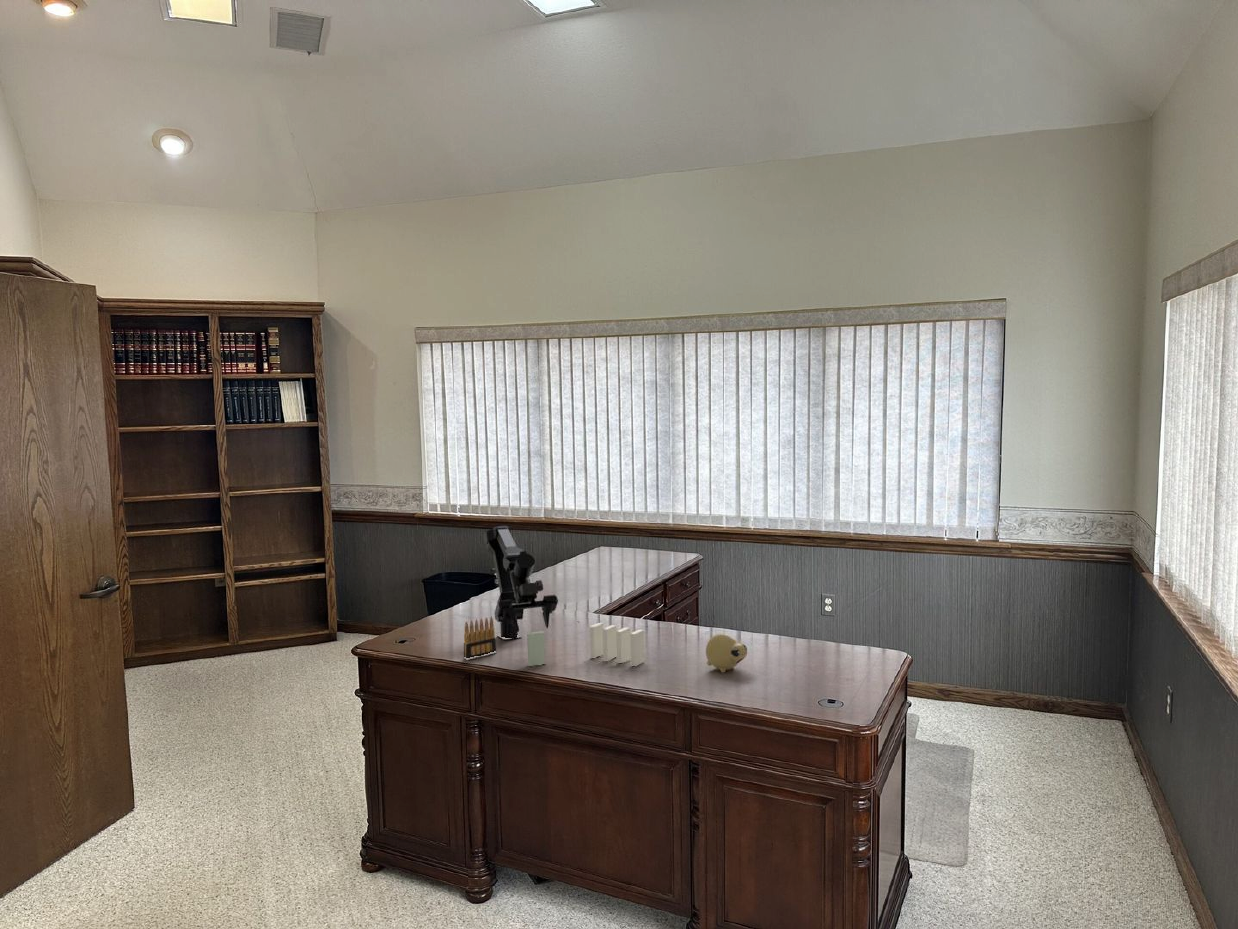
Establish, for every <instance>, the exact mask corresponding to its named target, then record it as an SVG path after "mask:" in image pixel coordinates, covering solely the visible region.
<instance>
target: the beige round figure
mask: <svg viewBox="0 0 1238 929" xmlns="http://www.w3.org/2000/svg"><path fill="white" fill-rule="evenodd" d="M747 655H748V647H747V645H746V644H743V643H740V642H738V641H737V640H736V639H734V638H733V637H731V636H729V635H728V634H725V633H717V634H715V635H713V636H712V637H711V638H710V639H709V640H708V642H707V644H706V647H705V656H706V659H707V663H706V664H707V666H709V667H711V666H713V667H715V668H716V669H719V670H720V673H724V674H725V672H726V671H728V670H732V669H734V668H735V667H736V666H737V665H738V664H739V663H740V662H742V660H745V658H746V657H747Z"/></svg>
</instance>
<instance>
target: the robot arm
mask: <svg viewBox="0 0 1238 929" xmlns="http://www.w3.org/2000/svg"><path fill="white" fill-rule="evenodd" d="M483 543H484V545H485V546H486V550H487V552H489V553H490V554H491V555H492V557H493V562H494V568H495V574H496V578H497V582H498V590H499V596H498V599H497V602H496V606H495V610H494V612H493V613H494V620H496V622H497V623H500V624H499V625H500V626H499V627H500V634H501V637H505V638H516V637H517V635H518V634H519V633H520V627H519V623H518V621H519V620H523V619H524V610H527V609H535V608H536V609H537V608H541V610H542V617H543V622H544V625H545V628H546V629H549V624H550V614H552V613H553V611H554V612H555V611H556V610H557V605H558V603H559V599H558V597H557V595H556V594H548V595H543V598H542V600H536V599H537V598H538V594H539V592H542V591H543V590H544V584H543V581H542V579H539V580H535V581H534V582H531V580H530V577H531V576H532V572H533V570H534V566H535V563H536V560H535V557H534V556H532V554H529V553H528V552H527V551H526V550H524V549H522V548H519V547H518V546H517V544H516V543H515V540H514V538H513V536H512V534H511V530H510V527H509V525H501V526H495V527H493V528H491V529H489V530H486V531H485V532H484V534H483ZM516 639H517V638H516Z"/></svg>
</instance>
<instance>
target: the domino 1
mask: <svg viewBox="0 0 1238 929" xmlns="http://www.w3.org/2000/svg"><path fill="white" fill-rule="evenodd" d="M526 633H527V635H526V637H527V665H529V666H533V665H538V664H544V663H546V634H545V631H544V630H540V631H532V632H526ZM529 666H528V667H529ZM533 667H534V666H533Z"/></svg>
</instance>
